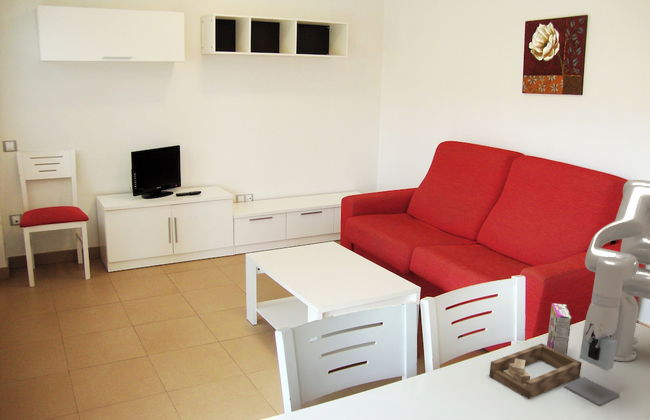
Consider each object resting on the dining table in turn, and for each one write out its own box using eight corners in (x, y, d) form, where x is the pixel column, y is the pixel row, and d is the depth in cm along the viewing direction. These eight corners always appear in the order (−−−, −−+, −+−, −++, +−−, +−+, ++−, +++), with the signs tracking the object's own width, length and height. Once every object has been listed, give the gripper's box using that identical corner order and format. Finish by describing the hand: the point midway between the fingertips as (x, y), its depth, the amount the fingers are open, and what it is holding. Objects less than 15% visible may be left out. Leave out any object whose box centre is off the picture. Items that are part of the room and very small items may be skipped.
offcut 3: (517, 370, 195) (518, 362, 194) (529, 383, 187) (530, 376, 187) (508, 370, 194) (509, 363, 194) (520, 384, 187) (521, 376, 186)
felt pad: (583, 378, 195) (584, 377, 195) (619, 396, 185) (619, 395, 185) (564, 387, 190) (564, 385, 189) (599, 406, 180) (599, 404, 180)
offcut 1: (509, 375, 196) (510, 368, 196) (531, 391, 187) (532, 384, 187) (502, 377, 195) (503, 370, 194) (524, 393, 186) (525, 386, 186)
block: (585, 355, 189) (589, 328, 187) (612, 368, 182) (617, 340, 180) (579, 358, 188) (583, 330, 185) (606, 371, 180) (611, 342, 178)
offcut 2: (524, 366, 192) (525, 360, 192) (522, 375, 187) (523, 369, 187) (514, 364, 194) (515, 358, 193) (512, 372, 188) (513, 366, 188)
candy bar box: (545, 346, 216) (551, 302, 212) (560, 347, 215) (566, 304, 211) (550, 361, 205) (556, 315, 201) (566, 363, 204) (572, 317, 200)
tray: (539, 356, 208) (541, 343, 207) (579, 377, 196) (581, 362, 195) (489, 376, 195) (490, 361, 194) (528, 399, 183) (530, 383, 181)
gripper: (610, 290, 187) (601, 345, 192) (577, 300, 178) (568, 358, 183) (634, 298, 181) (624, 355, 186) (600, 309, 172) (591, 369, 177)
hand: (596, 356), depth 184 cm, fingers closed on block, 3 cm apart
